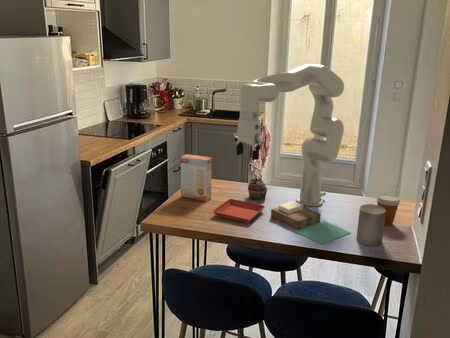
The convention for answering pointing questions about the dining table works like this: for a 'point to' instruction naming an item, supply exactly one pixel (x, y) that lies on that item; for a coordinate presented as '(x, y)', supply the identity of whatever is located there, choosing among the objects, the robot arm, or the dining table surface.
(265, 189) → the cupcake
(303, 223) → the brown flat block
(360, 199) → the dining table surface
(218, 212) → the plant saucer
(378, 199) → the disposable coffee cup
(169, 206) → the dining table surface
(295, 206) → the beige flat block
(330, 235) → the mat
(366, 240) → the pillar candle
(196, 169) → the cracker box
